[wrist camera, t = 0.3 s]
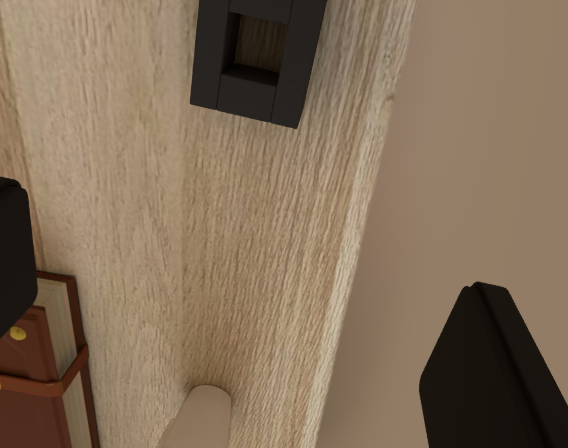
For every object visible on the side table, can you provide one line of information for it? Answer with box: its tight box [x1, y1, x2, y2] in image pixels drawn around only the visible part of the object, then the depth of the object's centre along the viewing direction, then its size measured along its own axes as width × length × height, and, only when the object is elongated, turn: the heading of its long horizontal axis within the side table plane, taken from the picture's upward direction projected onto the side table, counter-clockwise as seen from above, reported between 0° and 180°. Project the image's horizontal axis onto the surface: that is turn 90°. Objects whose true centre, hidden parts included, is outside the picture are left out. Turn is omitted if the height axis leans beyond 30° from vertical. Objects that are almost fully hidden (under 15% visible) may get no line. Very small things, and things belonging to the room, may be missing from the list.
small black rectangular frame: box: [190, 0, 327, 129], centre depth 24 cm, size 6×7×3 cm
